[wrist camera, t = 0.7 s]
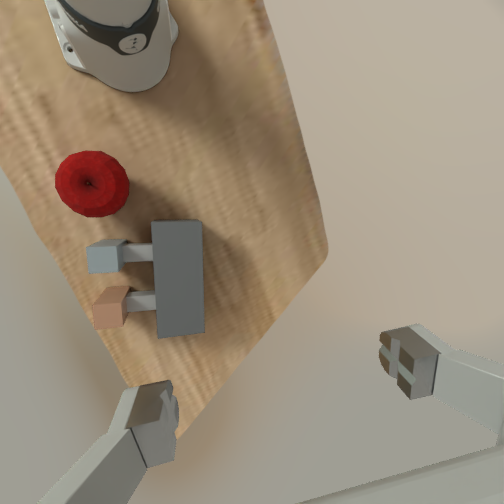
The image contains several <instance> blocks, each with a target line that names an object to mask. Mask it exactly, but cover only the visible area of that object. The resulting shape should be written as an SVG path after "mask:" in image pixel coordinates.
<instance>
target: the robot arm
mask: <svg viewBox="0 0 504 504" xmlns="http://www.w3.org/2000/svg"><path fill="white" fill-rule="evenodd" d="M44 1H45V4H46V7H47V10H48V13H49V15H50V18H51V21H52V24H53V27H54V30H55V33H56V35H57V38H58V41H59V44H60V47H61V50H62V52H63V55H64V58H65V60H66V62H67V64H68V65H69V66H70V67H72V68H74V69H76V70H79V71H82V72H86V73H90V74H92V75H93V76H95V77H96V78H98V79H99V80H101V81H102V82H104V83H105V84H107V85H109V86H111V87H113V88H115V89H118V90H122V91H127V92H139V91H144V90H147V89H150V88H152V87H153V86H155V85H156V84H157V83H159V82H160V81H161V79H162V78H163V77H164V75H165V74H166V72H167V69H168V66H169V62H170V54H171V48H172V45H173V44H174V42H175V41H176V39H177V36H178V33H179V31H178V25H177V23H176V21H175V20H174V18H173V17H172V15H171V13H170V12H169V6H168V1H167V0H44ZM69 49H73V52H69ZM380 342H381V343H382V344H383V345H382V347H381V348H380V349H379V358H380V362H381V365H382V366H383V368H384V370H385V371H386V372H387V373H388V374H389V375H390V376H392V377H394V378H396V379H397V385H398V386H399V387H400V389H401V390H402V391H403V392H404V393H405V394H406V396H407V397H408V398H409V399H410V400H412V399H416V398H421V397H425V396H430V395H433V397H435V398H437V399H438V400H440V401H442V402H443V403H445V404H447V405H449V406H450V407H452V408H454V409H456V410H457V411H459V412H461V413H462V414H464V415H466V416H468V417H469V418H471V419H473V420H474V421H476V422H478V423H480V424H481V425H483V426H485V427H487V428H488V429H490V430H492V431H493V432H495V433H497V434H499V435H498V439H497V443H496V446H495V447H491V448H488V449H484V450H481V451H477V452H474V453H470V454H467V455H463V456H460V457H456V458H453V459H449V460H447V461H442V462H439V463H436V464H432V465H429V466H425V467H422V468H418V469H415V470H411V471H408V472H405V473H401V474H397V475H394V476H391V477H387V478H384V479H380V480H377V481H373V482H369V483H366V484H363V485H359V486H356V487H352V488H349V489H345V490H342V491H338V492H335V493H332V494H328V495H325V496H321V497H318V498H314V499H311V500H307V501H304V502H300V503H297V504H504V364H501V363H498V362H495V361H492V360H489V359H486V358H483V357H480V356H477V355H474V354H471V353H468V352H466V351H463V350H455V349H453V348H452V347H451V346H449V345H448V344H446V343H445V342H444V341H443V340H441V339H440V338H439V337H437V336H436V335H434V334H433V333H432V332H430V331H429V330H428V329H426V328H425V327H424V326H422V325H420V324H414V325H409V326H406V327H402V328H398V329H393V330H389V331H384V332H381V334H380ZM172 392H173V386H172V383H171V381H170V380H165V381H160V382H155V383H150V384H145V385H141V386H137V387H132V388H127V389H126V390H125V391H124V392H123V394H122V396H121V399H120V401H119V404H118V407H117V409H116V412H115V414H114V417H113V420H112V422H111V425H110V427H109V430H108V432H107V434H105V435H102V436H101V437H100V438H99V439H98V440H97V441H96V442H95V443H94V444H93V445H92V446H91V447H90V448H89V449H88V450H87V451H86V453H85V454H84V455H83V456H82V457H81V458H80V459H79V460H78V461H77V462H76V463H75V464H74V465H73V466H72V467H71V468H70V469H69V470H68V471H67V472H66V473H65V475H64V476H63V477H62V478H61V479H60V480H59V481H58V482H57V483H56V484H55V485H54V486H53V487H52V488H51V489H50V490H49V492H47V493H46V495H44V497H43V498H42V499H41V500H40V501H39V502H38V503H37V504H127V503H128V501H129V499H130V498H131V496H132V494H133V492H134V491H135V489H136V488H137V486H138V484H139V483H140V481H141V479H142V478H143V476H144V474H145V473H146V471H147V468H149V467H153V466H156V465H160V464H163V463H167V462H170V461H173V460H174V455H175V447H176V436H175V433H174V431H175V430H176V429H177V427H178V422H179V408H178V402H177V398H176V397H175V396H174V395H172Z"/></svg>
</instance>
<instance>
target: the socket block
mask: <svg viewBox="0 0 504 504" xmlns="http://www.w3.org/2000/svg"><path fill="white" fill-rule="evenodd" d="M151 232H152V249H153V266H154V283H155V299H156V316H157V333H158V339H159V338H167V337H175V336H182V335H190V334H197V333H205V327H204V286H203V246H202V222H201V221H199V220H153V221H152V222H151Z"/></svg>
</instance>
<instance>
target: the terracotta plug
mask: <svg viewBox="0 0 504 504" xmlns="http://www.w3.org/2000/svg"><path fill="white" fill-rule="evenodd" d="M92 309H93V318H94V328H95V330H97V329H106V328H114V327H123V325H124V323H125V321H126V318H127V316H128V313H129V312H137V311H147V310H156V299H155V290H149V291H137V292H131V290H130V286H123V287H109V288H106V289H105V290H104V292H103V293H102V294H101V295H100V296H99V298H98V299H97V300H96V301H95V302H94V304H93V305H92Z"/></svg>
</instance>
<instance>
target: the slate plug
mask: <svg viewBox="0 0 504 504" xmlns="http://www.w3.org/2000/svg"><path fill="white" fill-rule="evenodd" d="M86 252H87V261H88V271H89V274H91V273H109V272H119V271H120V269H121V268H122V267H123V266H124V265H125V264H126V262H141V261H153V249H152V243H132V244H127V239H110V240H100V241H98V242H96V243H94V244H92V245H90V246H88V247H86Z"/></svg>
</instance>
